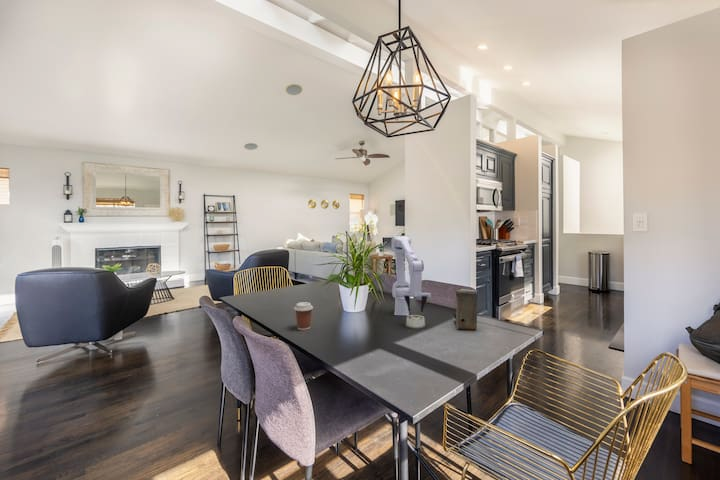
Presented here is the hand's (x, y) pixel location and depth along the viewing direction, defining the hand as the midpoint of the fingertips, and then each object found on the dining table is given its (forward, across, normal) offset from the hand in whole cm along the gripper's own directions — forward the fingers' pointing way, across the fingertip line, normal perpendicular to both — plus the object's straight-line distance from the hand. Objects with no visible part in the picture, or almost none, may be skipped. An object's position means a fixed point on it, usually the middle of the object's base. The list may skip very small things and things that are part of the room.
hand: (415, 311), depth 166 cm
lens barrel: (+7, 0, 0) cm, 7 cm away
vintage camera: (+8, +24, +3) cm, 25 cm away
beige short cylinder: (+7, 0, 0) cm, 7 cm away
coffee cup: (+8, -55, -10) cm, 56 cm away
